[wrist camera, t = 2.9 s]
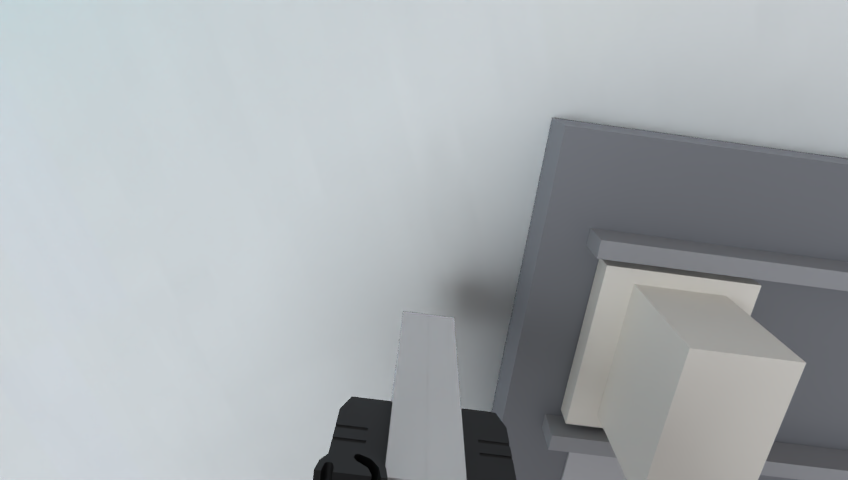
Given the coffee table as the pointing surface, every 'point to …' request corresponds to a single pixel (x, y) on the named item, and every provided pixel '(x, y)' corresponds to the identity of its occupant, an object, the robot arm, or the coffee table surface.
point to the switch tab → (679, 373)
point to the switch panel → (687, 250)
